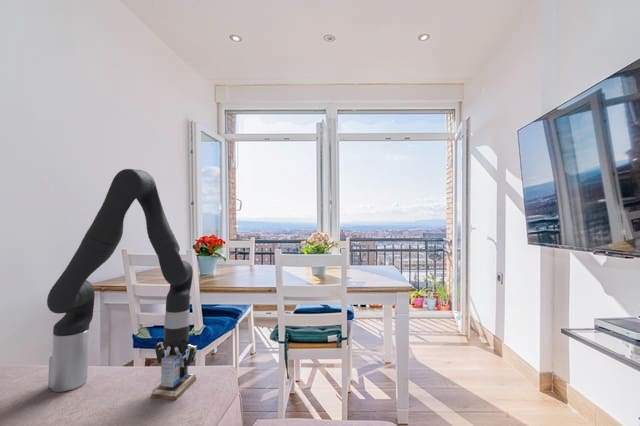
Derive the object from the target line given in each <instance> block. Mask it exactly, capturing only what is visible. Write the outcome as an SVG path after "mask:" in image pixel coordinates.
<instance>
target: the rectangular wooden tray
mask: <svg viewBox="0 0 640 426" xmlns="http://www.w3.org/2000/svg"><path fill="white" fill-rule="evenodd" d="M195 381H197V376H196V373H189V372H188V376H186V377H185V378H184V379H183V380H181V381H180V382H179V383H178V384H177V385H175V386H174V387H166V386H161V383H159V385H157V386H156V387H154V389H153V390H152V391H151V392H152V393H151V394H150V397H151V398H152V397H154V398H153V399H161V398H164V399H163V400H170V399H171V400H172V401H177V400H178V398H179V397H181V395H182V394H184V393H185V391H186V390H188V388H189V387H190V386H192V385H193V383H195Z"/></svg>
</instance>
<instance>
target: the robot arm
mask: <svg viewBox="0 0 640 426" xmlns="http://www.w3.org/2000/svg"><path fill="white" fill-rule="evenodd" d="M159 195H160V193H159V192H158V189H157V185H156V181H155V179H154V177H153V175H151V174H150V173H149V172H148V171H145V170H141V169H133V168H124V169H122V170H119V172H118V173H116V175H115V176H114V177H113V179H112V181H111V184H110V186H109V188H108V191H107V193H106V195H105V197H104V201H103V203H102V205H101V207H100V208H99V210H98V212H97V214H96V216H95V217H94V219H93V220H92V223H91V225H90V226H89V228H88V229H87V231H86V232H85V235H84V237H83V238H82V240H81V241H80V242H81V243H80V244H79V246H78V248H77V250H76V251H75V252H74V254H73V257H72V258H71V260H70V261H69V262H68V264H67V266H66V267H65V269H64V271H63V272H62V273H61V275H60V276H59V277H58V278H57V280H56V282H55V283H54V284H53V285H52V287H51V288H50V290H49V293H48V294H47V295H48V296H47V298H46V305H47V308H48V310H49V311H50V312H51V313H54V314H64V315H63V317H62V318H60V319H59V320H58V321H57V322H56V323H55V324H54V325H53V330H52V351H51V352H52V355H51V356H50V357H49V360H48V379H47V380H48V381H47V382H48V383H47V384H48V385H47V388H49V389H50V390H51V391H52V392H54V393H55V392H56V393H61V392H62V393H63V392H68V391H72V390H75V389H78V388H79V387H82V386H83V385H85V384H86V383H87V381H88V369H89V351H90V350H89V348H90V347H89V346H90V344H89V343H90V326H91V325H90V324H91V322H92V320H93V316H94V308H95V289H94V286H93V284H92V283H91V281H90V280H87V279H88V278H89V277H90V276H91V275H92V274H93V273H94V272H96V271H97V270H98V269H99V268H100V267H101V266H102V265H103V264H105V263H106V262H107V261H108V260H109V259H110V257H111V256H112V255H113V254H114V252H115V250H117V249H116V248H117V247H118V245H119V243H120V242H121V239H122V238H123V233H124V222H125V217H126V214H127V213H128V212H129V211H128V210H129V209H130V207H131V206H132V204H133V203H134V201H135V200H137V202H138V204H139V205H140V207H141V209H142V212H143V213H144V217H145V224H146V233H147V237H148V240H149V243H150V244H151V246H152V248H153V249H154V252H155V254H156V255H157V258H158V263H159V267H160V271H161V273H162V275H163V278H164V280H165V281H166V283H168V284H169V285H170V286H169V290H168V293H166V294H167V295H166V296H165V313H164V320H163V322H164V323H163V340H164V341H163V342H162V341H159V342H158V343H157V344H155V345H154V351H155V355H156V360H157V363H158V364H161V363H162V358H164V357H166V356H169V355H177V357H178V358H179V361H180V365H181V367H180V378H181V379H182V378H183V377H185V375H186V374H187V366H188V367H189V366H190V365H191V364H193V363H194V361H195V357H196V354H197V350H198V347H199V346H198V345H197V344H195V345H193V344H190V340H189V338H190V322H191V316H190V314H191V313H190V303H191V302H190V300H191V299H190V298H191V297H190V295H191V290H192V289H191V288H192V282H193V276H194V274H193V271H194V270H193V267H192V265H191V263H190V262H189V261H186V260H182V257H181V254H180V245H179V243H178V240H177V239H176V236H175V234H174V233H173V230H172V228H171V226H170V224H169V222H168V219H167V216H166V213H165V211H164V208H163V205H162V201H161V199H160V196H159ZM186 350H188V352H189V355H188V359H187V351H186ZM183 353H184V355H183V356H182V354H183Z"/></svg>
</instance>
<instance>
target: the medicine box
mask: <svg viewBox="0 0 640 426" xmlns="http://www.w3.org/2000/svg"><path fill="white" fill-rule="evenodd" d="M186 351H187V359H188V355H189V352H188V349H187V350H186ZM183 355H184V353H183V354H182V356H183ZM160 364H161V366H160V367H161V369H160V384H161V386H166V387H174V386H175V385H177V384H178V383H179V382H180V381H181V380H183V379H184V378H185V377H186V376H188V373H189V366H187V374H186V375H185V377H183V378H182V379H181V378H180V367H181V365H180V361H179V358H178V357H177V355H169V356H166V357H164V358H162V363H160Z"/></svg>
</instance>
